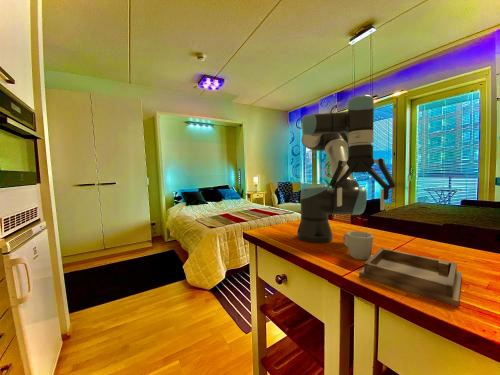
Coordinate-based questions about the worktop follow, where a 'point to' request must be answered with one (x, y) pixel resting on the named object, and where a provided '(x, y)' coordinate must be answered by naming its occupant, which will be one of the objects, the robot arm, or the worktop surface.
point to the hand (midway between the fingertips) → (359, 207)
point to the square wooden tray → (415, 274)
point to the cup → (359, 244)
